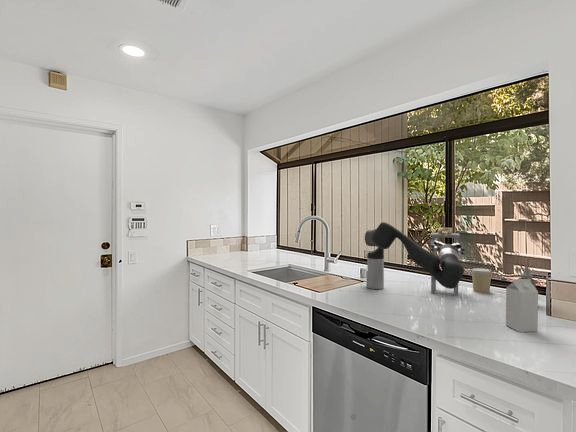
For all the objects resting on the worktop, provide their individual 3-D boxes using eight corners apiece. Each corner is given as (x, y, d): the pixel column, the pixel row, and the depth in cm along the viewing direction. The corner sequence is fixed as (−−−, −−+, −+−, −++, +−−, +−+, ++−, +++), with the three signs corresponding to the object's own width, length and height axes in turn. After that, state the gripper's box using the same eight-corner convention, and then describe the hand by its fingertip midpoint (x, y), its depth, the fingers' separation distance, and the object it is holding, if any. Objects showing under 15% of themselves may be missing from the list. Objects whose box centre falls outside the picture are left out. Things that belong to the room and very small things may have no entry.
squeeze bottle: (532, 302, 157) (533, 265, 156) (539, 307, 149) (540, 268, 149) (513, 301, 160) (513, 264, 159) (518, 306, 152) (519, 267, 152)
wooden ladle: (437, 235, 165) (437, 229, 164) (438, 232, 182) (438, 227, 181) (452, 236, 161) (452, 230, 161) (452, 233, 178) (452, 227, 178)
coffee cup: (485, 289, 182) (486, 268, 182) (494, 293, 173) (495, 271, 173) (468, 289, 183) (468, 268, 183) (476, 293, 174) (476, 271, 174)
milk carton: (505, 325, 127) (506, 277, 127) (522, 324, 128) (523, 277, 127) (519, 332, 120) (520, 281, 120) (537, 331, 121) (538, 281, 120)
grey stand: (430, 293, 175) (430, 234, 174) (431, 289, 184) (431, 232, 183) (459, 296, 169) (459, 234, 168) (458, 291, 178) (459, 233, 177)
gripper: (429, 261, 144) (429, 246, 158) (465, 265, 139) (461, 249, 153) (431, 246, 142) (430, 231, 156) (468, 250, 137) (464, 235, 151)
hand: (446, 240), depth 155 cm, fingers open, 8 cm apart
